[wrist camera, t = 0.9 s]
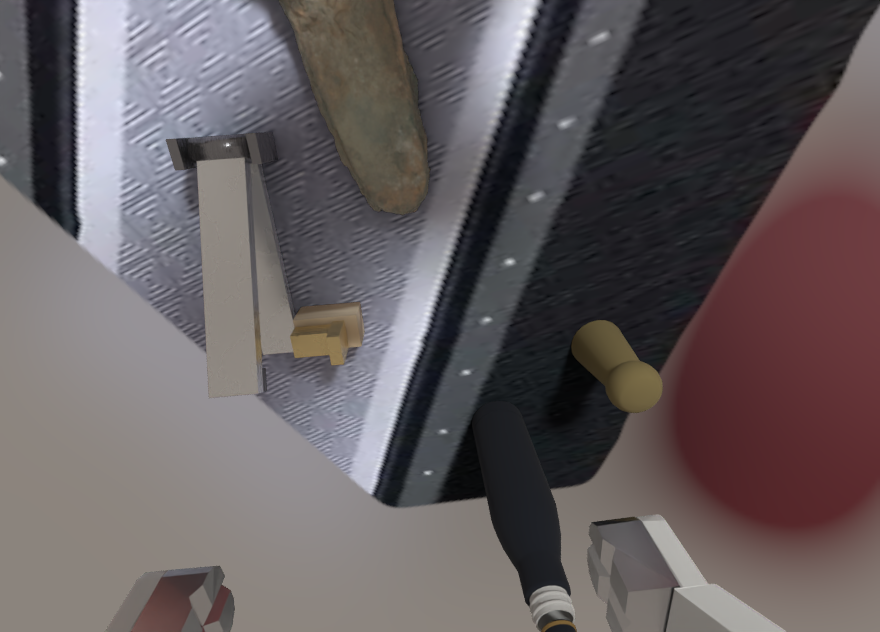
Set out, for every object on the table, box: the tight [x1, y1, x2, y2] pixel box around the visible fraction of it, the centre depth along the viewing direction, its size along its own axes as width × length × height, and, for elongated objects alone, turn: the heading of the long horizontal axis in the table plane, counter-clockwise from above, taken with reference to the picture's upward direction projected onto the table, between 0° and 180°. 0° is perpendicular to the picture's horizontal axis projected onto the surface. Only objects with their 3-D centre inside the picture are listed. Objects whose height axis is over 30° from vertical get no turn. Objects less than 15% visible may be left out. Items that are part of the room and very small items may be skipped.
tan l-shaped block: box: [290, 320, 349, 365], centre depth 42 cm, size 3×5×4 cm, turn 94°
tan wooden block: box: [293, 302, 365, 347], centre depth 46 cm, size 4×6×4 cm, turn 94°
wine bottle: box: [472, 401, 577, 632], centre depth 41 cm, size 6×6×30 cm
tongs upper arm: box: [187, 134, 267, 398], centre depth 37 cm, size 22×5×2 cm, turn 3°
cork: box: [571, 320, 662, 413], centre depth 46 cm, size 6×6×11 cm
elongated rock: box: [279, 0, 431, 215], centre depth 35 cm, size 35×5×10 cm
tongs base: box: [166, 132, 295, 355], centre depth 42 cm, size 22×7×5 cm, turn 4°
